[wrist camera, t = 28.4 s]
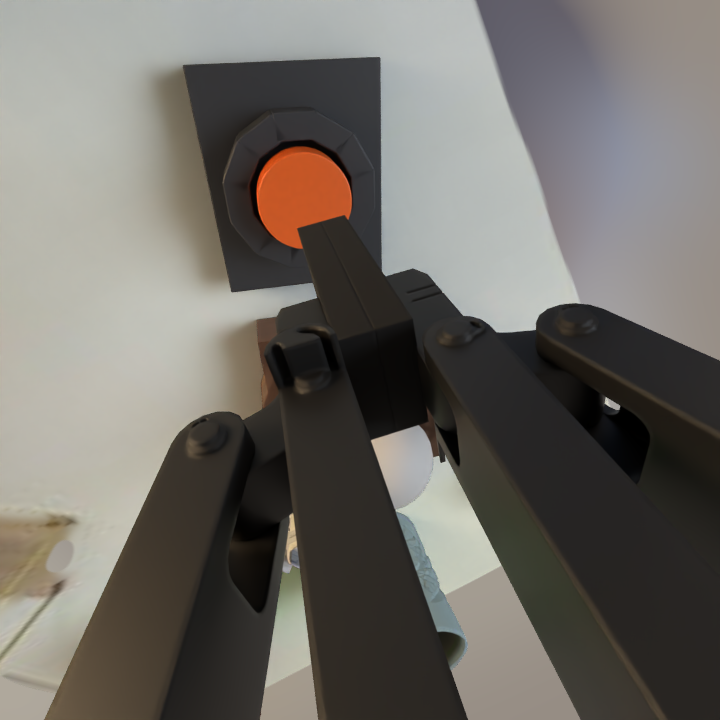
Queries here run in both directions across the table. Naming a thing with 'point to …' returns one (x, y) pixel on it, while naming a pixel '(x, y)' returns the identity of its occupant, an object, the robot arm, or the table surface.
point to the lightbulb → (405, 463)
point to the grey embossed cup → (435, 597)
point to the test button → (300, 192)
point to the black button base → (280, 131)
